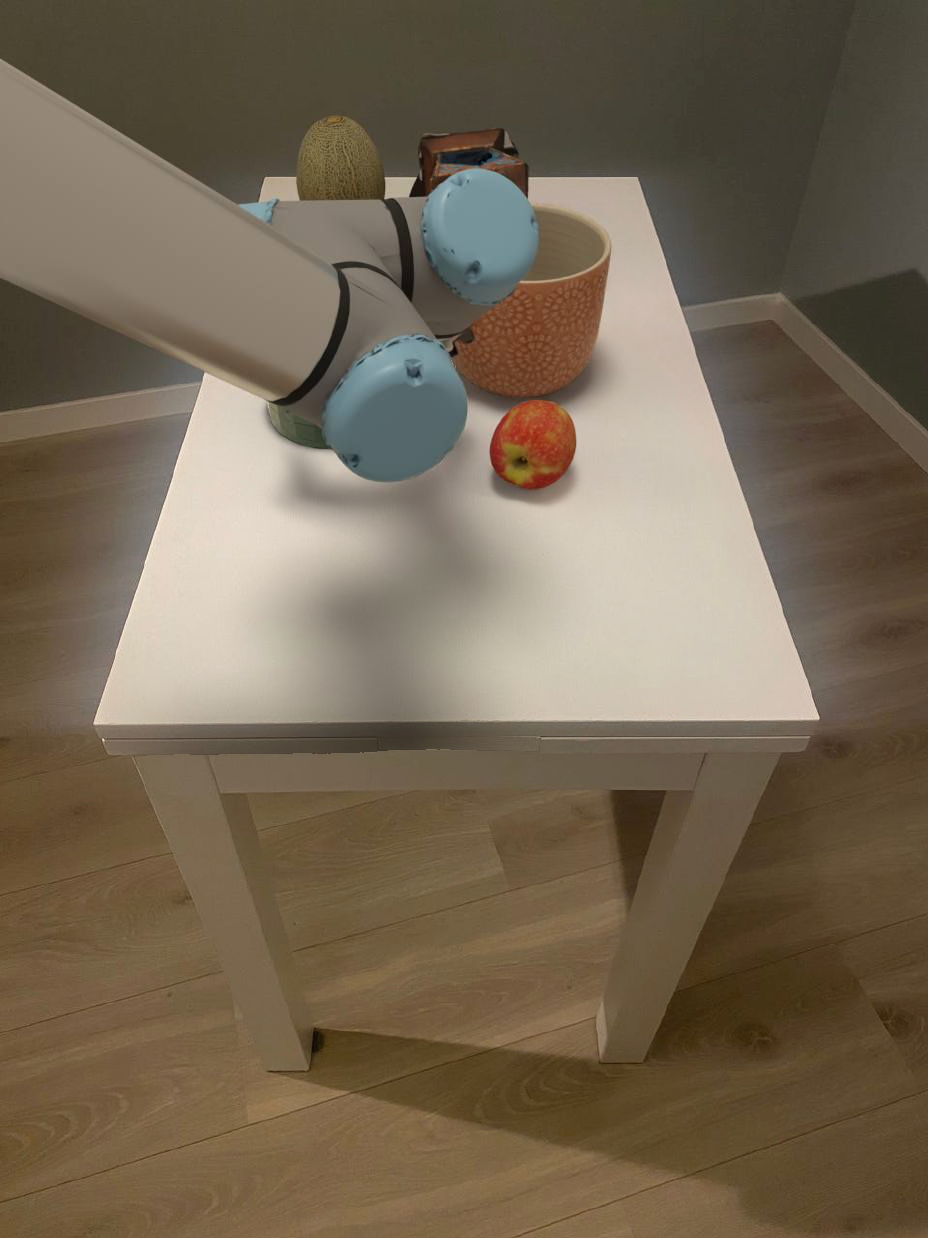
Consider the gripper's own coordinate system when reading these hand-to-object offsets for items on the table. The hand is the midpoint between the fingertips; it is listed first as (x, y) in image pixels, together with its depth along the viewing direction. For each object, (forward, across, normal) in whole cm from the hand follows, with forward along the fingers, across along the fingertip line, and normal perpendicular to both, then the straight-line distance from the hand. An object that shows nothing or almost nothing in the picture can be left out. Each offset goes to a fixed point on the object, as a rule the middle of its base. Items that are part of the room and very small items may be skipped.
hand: (350, 378), depth 90 cm
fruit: (+34, +17, +24) cm, 45 cm away
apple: (-5, +13, -15) cm, 20 cm away
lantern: (+25, +30, +15) cm, 42 cm away
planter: (+7, +21, -4) cm, 22 cm away
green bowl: (+9, 0, -1) cm, 9 cm away
